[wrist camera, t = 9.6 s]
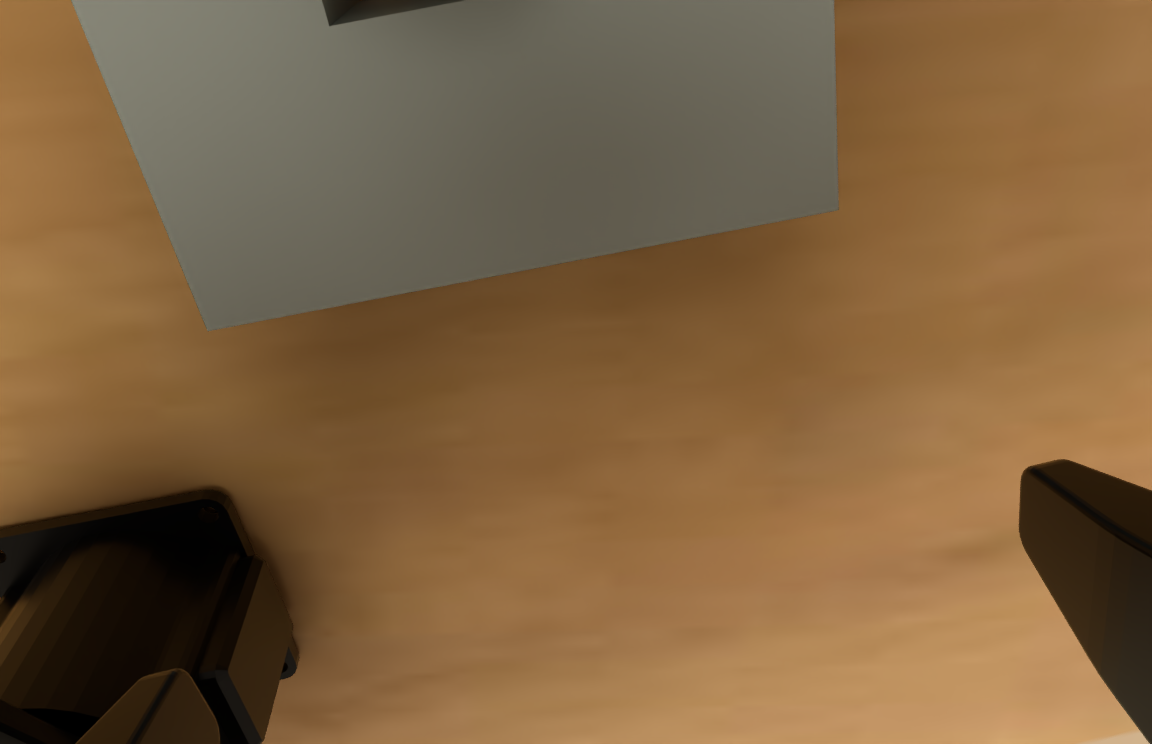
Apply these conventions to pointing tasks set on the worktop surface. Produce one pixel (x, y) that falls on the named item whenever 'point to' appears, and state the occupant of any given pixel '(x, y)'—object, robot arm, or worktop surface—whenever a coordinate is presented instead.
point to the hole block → (459, 134)
